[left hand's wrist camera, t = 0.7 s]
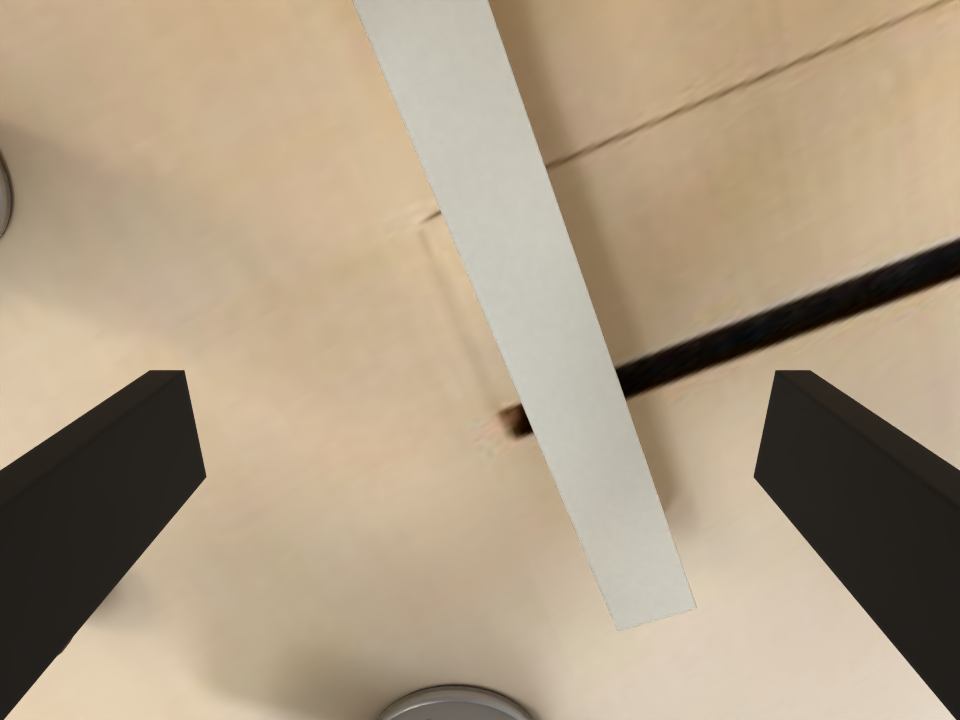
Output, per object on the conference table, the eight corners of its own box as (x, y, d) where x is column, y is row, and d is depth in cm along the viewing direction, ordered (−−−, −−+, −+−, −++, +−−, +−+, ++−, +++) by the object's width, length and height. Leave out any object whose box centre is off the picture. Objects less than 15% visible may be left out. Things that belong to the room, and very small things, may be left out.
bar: (659, 526, 40) (697, 609, 33) (594, 546, 41) (617, 632, 34) (174, -854, 19) (-11, -1452, 12) (56, -762, 20) (-184, -1275, 13)
